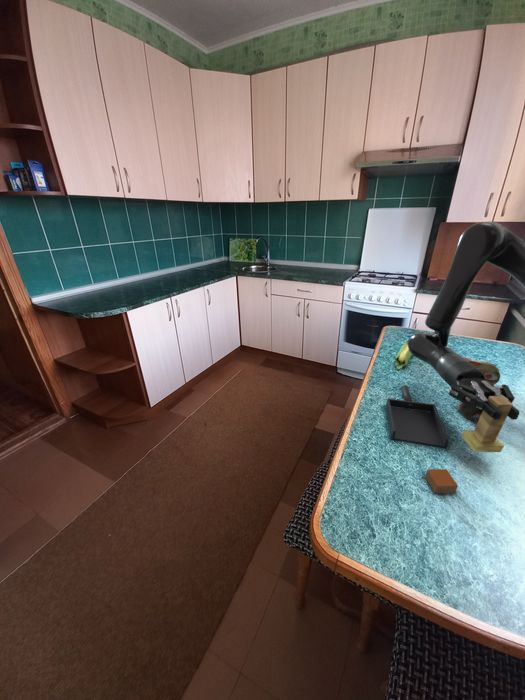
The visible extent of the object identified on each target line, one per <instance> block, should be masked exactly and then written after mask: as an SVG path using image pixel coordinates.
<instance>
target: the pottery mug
mask: <svg viewBox="0 0 525 700" xmlns="http://www.w3.org/2000/svg"><path fill="white" fill-rule="evenodd" d="M466 400H468V401H469V402H470V399H469V398H468V397H466ZM456 410H457V411H458V412H459V413H460V414H461V415H462V416H464V417H465V419H467V420H469V421H470V420H472V418H474V419H475V420H476V421H477V422H478V421H479V418H480V416H481V414H482V412H483V410H482V409H479V408H478V407H476V406H475V407H474V408H471V407H469V406H467V405H465V404H464V403H462V402H459V404H458V406H457V407H456Z"/></svg>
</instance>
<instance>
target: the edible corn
mask: <svg viewBox="0 0 525 700" xmlns="http://www.w3.org/2000/svg"><path fill="white" fill-rule="evenodd" d="M412 356H414V355H413V354H412V353H411V352H410V351H409V348H408V341H407V342H406V343H404V344H402V346H401V347H400V349H399V350H398V352H397V355H396V357H395V359H394V361H395V362H394V366H396V369H397V370H400V369H402V368H403V367H406V366H407V365H408V363H409V361H410V360H411V358H412Z"/></svg>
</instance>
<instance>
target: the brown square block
mask: <svg viewBox="0 0 525 700" xmlns="http://www.w3.org/2000/svg"><path fill="white" fill-rule="evenodd" d="M424 477H425V479H426V482H428V484H429V486H430V487H431V489H432V491H433V492H434V494H456V493H457V490H458V487H459V485H458V483H457V482H456V480H455V479H454V477H453V476H452V475H451V473H450V472H449V471H448V469H447V468H446V469H445V468H439V469H438V468H435V469H434V468H432V469H431V468H430V469H427V470H426V472H425V476H424Z"/></svg>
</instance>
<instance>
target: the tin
mask: <svg viewBox="0 0 525 700" xmlns="http://www.w3.org/2000/svg"><path fill="white" fill-rule="evenodd" d="M462 357H463V356H462ZM463 358H465V359H466V360H467V361H469V362H470V363H471V364H473V365H474V366H475V367H476V368H478V369H479V370H480V371H482V373H483V374H484V377H485V379H486V381H488V382H490V383H492V384H493V385H494V386H496V384H498V382H499V381H500V379H501V373H500V369H499V368H498V367H497V366H496V365H495V364H493V363H491V362H488V361H485V360H484V361H483V360H478V359H474V358H468V357H463Z"/></svg>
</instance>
